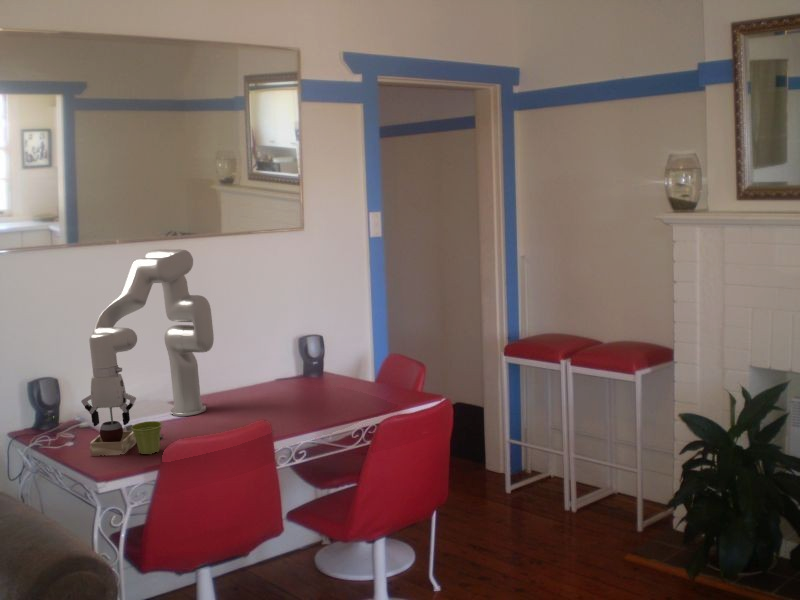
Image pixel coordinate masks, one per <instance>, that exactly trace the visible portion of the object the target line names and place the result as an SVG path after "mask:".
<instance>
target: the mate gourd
mask: <svg viewBox="0 0 800 600" xmlns="http://www.w3.org/2000/svg"><path fill="white" fill-rule="evenodd" d="M108 409H109V413H110V421H108V420H107V421H105V422H103V423H102V424H101V426H100V428H99V435H100V437H101V439H102V441H103V442H120V441H121V439H122V436H123V431H124V427H123V425H122V423H121V422H119V421H117V420H114V419H113V418H114V417H113V408H108Z"/></svg>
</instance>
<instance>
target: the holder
mask: <svg viewBox="0 0 800 600" xmlns="http://www.w3.org/2000/svg"><path fill="white" fill-rule="evenodd" d="M135 445H137V442H136V438H135V434H134V433H133V431H125V430H123V436H122V439H121V441H120V442H103V441H102V439H101V437H100V434H99V435H97V436H96V437H95V438H94V439H93V440H91V442H90V443H89V453H90V457H98V456H100V455H102V456H104V455H105V456H121V455H120V454H125V453H126V452H127V451H128V450H129V449H130V450H131V449H132V448H133V447H134V446H135ZM130 450H129V451H130ZM129 451H128V452H129ZM128 452H127V453H128ZM127 453H126V454H127ZM126 454H125V455H126ZM102 456H101V457H102Z"/></svg>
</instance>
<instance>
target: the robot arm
mask: <svg viewBox="0 0 800 600" xmlns="http://www.w3.org/2000/svg"><path fill="white" fill-rule="evenodd" d="M193 265H194V257H193V255H192V254H191V252H189V251H188V250H186V249H181V248H179V249H166V248H163V249H161V248H160V249H151V250H149V251H148V252H146V253H145V255H144V257H140V258H136V259H135V260H134V261H133V262H132V264H131V266H130V268H129V271H128V273H127V275H126V278H125V281H124V284H123V287H122V289H121V292H120V294H119V295H118V297H117V298H116V299H115V300H113V301H112V302H110V304H109V305H108V306H107V307H106V308H105V309H103V311H101V313H100V315H99V316H98V318H97V321H96V323H95V326H94V328H93V332H92V334H91V335H89V348H90V349H89V350H90V358H91V366H92V375H93V376H91V378H90V379H91V380H90V381H91V382H90V395H88V396H86V397H85V398H82V399H81V402H80V403H82V405H83V406H84V409H86V410H87V411H88V413H89V414H90V415H91V417H90V418H91V423H92V424H93V427H96V426H98V425H99V424H100V417H99V412H98V411H97V410H98V409H106V408H107V409H109V408H112V409H114V408H119V409H120V410H122V414H121V415H122V424H123V425H122V426H127V425H128V424H129V422H130V420H131V416H130V411H131V409H132V408H133V407H134V405H135V402H136V400H137V398H136V397H135V396H133V395H131V394H129V393H127V391H126V387H125V382H124V379H123V376H122V374H121V372H123V368H122V367H119V365H118V359H117V353H122V352H124V353H125V352H128V351H130V350H132V349H133V348H134V347H135V346H136V344H137V343H138V334H137V333H136V331H134V330H133V329H132V328H129V327H116V326H115V325H116V324H117V323H118V322H119V321H120V320H121V319H122V318H124V317H126V316H127V315H129V314H132V313H134V312H136V311H139V310H140V309H142V308H144V307H145V306H146V303H147V300H148V297H149V295H150V292H151V290H152V287H153V285H154V284H161V287H162V292H163V299H164V308H165V313H166V317H167V319H168V320H169V321H171V322H176V323H192V325H191V324H176V325H173V326H172V325H171V326H170V327H168V328H167V330H166V331H165V333H164V337H163V339H164V344H165V347H166V350H167V354H168V360H169V367H170V375H171V376H170V379H171V386H172V387H171V389H172V397H173V407H171V409H170V410H169V412H170V411H171V412H172V413H173V415H172V416H175V417H188V416H189V417H190V416H194V415H198V414H201V413H204V412H205V411H206V410H207V406H206V405H205V404H203V403H202V399H201V397H202V396H201V388H200V376H199V367H198V366H199V365H198V360H197V357H196V355H195V354H194V353H208V352H209V351H211V349H212V348H213V345H214V338H215V337H214V335H215V334H214V325H213V318H212V317H213V316H212V310H211V305H210V302H209V300H208V299H207V298H206V297H205V296H203V295H199V294H190V291H189V287H188V281H187V277H186V275H187V274H189V273H190V272H191V271H192V268H193V267H194V266H193ZM128 400H129V403H128V404H127V401H128ZM89 401H90V402H91V403H89Z"/></svg>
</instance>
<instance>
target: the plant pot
mask: <svg viewBox="0 0 800 600" xmlns="http://www.w3.org/2000/svg"><path fill="white" fill-rule="evenodd" d="M162 426H163V423H162V422H161V421H154V420H152V421H148V420H147V421H143V422H138V423H135V424H132V427H131V429H132V430H133V433H134V434H135V438H136V442H137V443H136V445H137V449H138V453H139V454H140V453H141V454H140V455H142V454H150V455H152V454H151V453H153V454H154V453H155V452H157V453H159V451H160V445H161V444H160V443H161V442H160V441H161V438H160V435H161V430H162Z"/></svg>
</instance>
